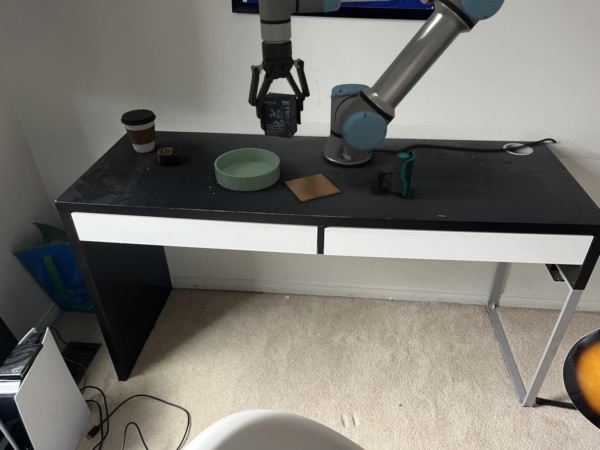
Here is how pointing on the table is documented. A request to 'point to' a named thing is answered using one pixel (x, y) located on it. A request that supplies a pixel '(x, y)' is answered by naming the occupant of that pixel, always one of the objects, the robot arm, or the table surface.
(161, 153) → the tape measure
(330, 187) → the mat
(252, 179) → the bowl
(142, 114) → the coffee cup
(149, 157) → the table surface
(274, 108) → the box
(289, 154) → the table surface
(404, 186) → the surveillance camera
